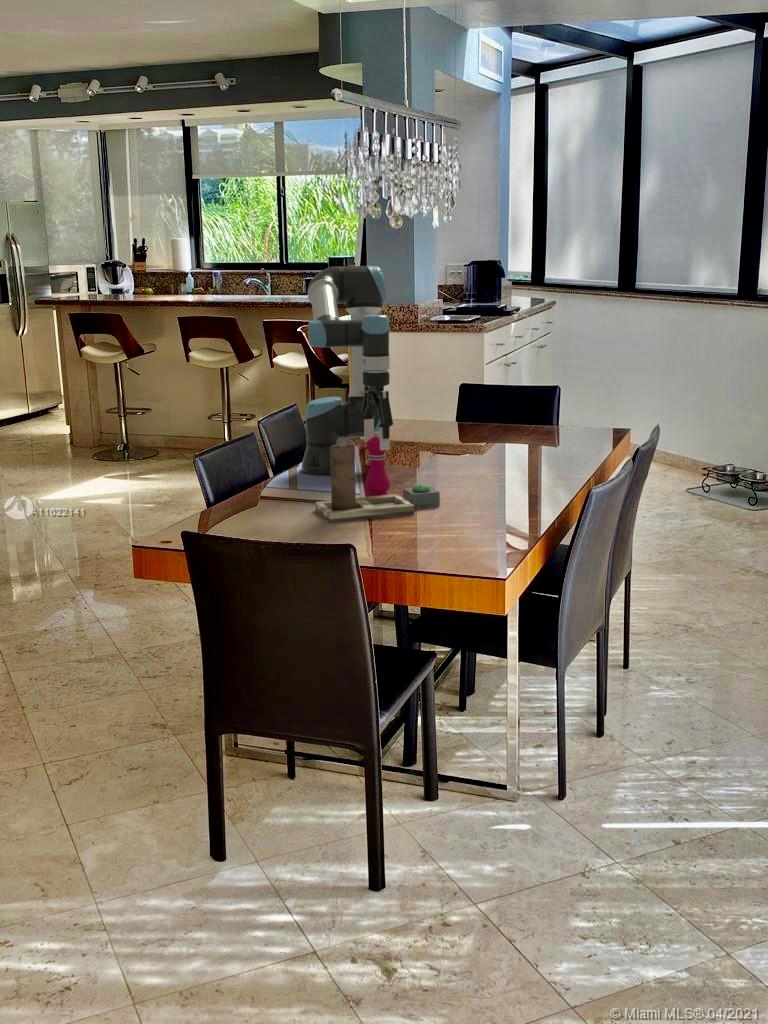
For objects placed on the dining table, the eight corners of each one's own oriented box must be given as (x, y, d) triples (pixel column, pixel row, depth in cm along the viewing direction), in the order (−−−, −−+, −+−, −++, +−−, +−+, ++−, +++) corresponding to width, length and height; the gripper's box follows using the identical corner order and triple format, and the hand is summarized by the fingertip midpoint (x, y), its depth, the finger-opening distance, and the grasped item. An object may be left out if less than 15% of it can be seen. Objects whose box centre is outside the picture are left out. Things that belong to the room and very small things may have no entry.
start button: (410, 498, 303) (410, 484, 302) (425, 496, 305) (425, 483, 304) (416, 502, 299) (416, 488, 298) (432, 500, 300) (432, 486, 299)
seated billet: (328, 509, 293) (326, 435, 288) (351, 506, 295) (350, 434, 290) (335, 514, 287) (334, 440, 282) (358, 512, 289) (357, 438, 284)
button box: (403, 501, 304) (403, 488, 303) (429, 499, 307) (429, 485, 306) (413, 508, 297) (413, 494, 296) (439, 505, 300) (439, 491, 299)
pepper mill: (375, 495, 312) (375, 428, 307) (395, 499, 307) (394, 431, 302) (359, 500, 307) (358, 432, 301) (379, 504, 302) (378, 434, 297)
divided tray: (315, 510, 296) (315, 501, 295) (396, 502, 304) (396, 493, 303) (330, 522, 283) (330, 513, 283) (414, 514, 291) (414, 505, 290)
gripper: (349, 366, 308) (351, 439, 313) (378, 376, 285) (379, 454, 290) (374, 365, 310) (375, 437, 315) (404, 375, 287) (404, 452, 292)
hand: (376, 445), depth 303 cm, fingers open, 13 cm apart
